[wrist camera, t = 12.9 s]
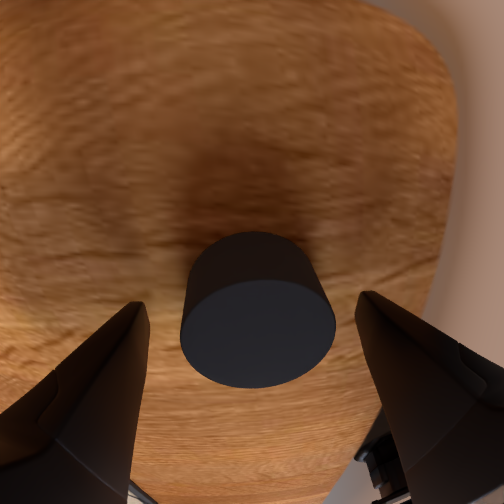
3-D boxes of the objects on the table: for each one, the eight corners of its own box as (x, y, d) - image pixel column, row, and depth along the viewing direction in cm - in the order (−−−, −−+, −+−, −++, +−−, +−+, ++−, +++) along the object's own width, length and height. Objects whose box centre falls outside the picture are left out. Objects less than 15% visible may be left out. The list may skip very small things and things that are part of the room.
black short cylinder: (320, 228, 9) (350, 273, 7) (306, 330, 11) (323, 382, 8) (181, 233, 8) (167, 281, 6) (194, 336, 10) (191, 391, 8)
